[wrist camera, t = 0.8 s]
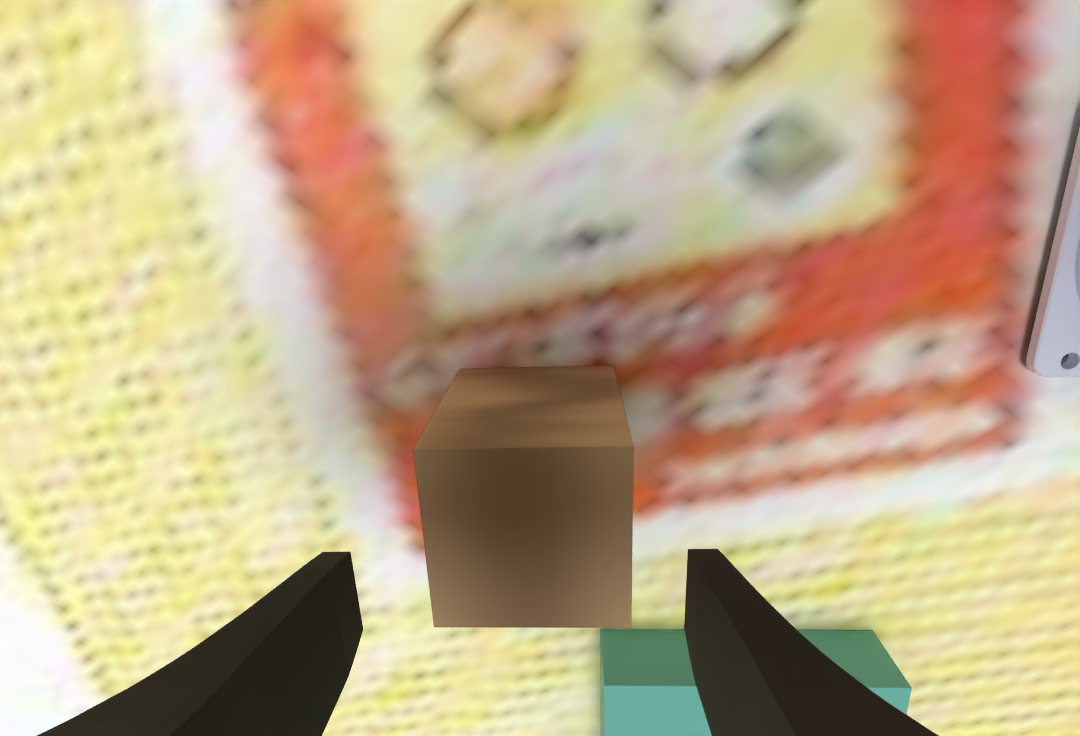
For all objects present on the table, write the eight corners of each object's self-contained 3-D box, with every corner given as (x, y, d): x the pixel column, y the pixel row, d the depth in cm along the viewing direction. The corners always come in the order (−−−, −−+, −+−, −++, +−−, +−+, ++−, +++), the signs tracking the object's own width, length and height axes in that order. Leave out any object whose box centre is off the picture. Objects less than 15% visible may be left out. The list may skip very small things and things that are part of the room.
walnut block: (613, 364, 19) (633, 446, 13) (613, 500, 20) (630, 627, 14) (459, 368, 19) (413, 449, 13) (471, 502, 20) (434, 627, 15)
